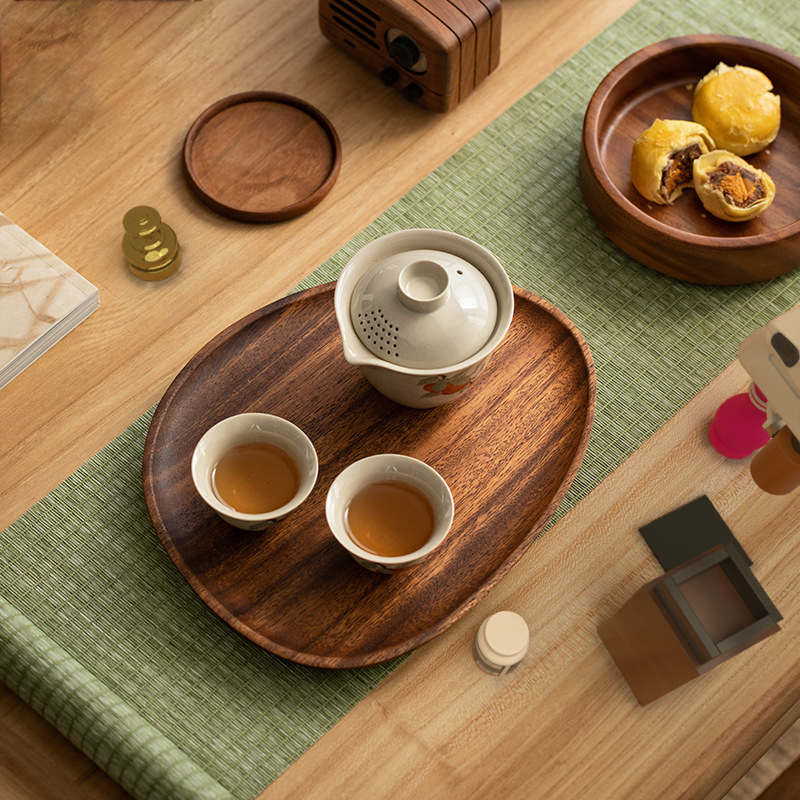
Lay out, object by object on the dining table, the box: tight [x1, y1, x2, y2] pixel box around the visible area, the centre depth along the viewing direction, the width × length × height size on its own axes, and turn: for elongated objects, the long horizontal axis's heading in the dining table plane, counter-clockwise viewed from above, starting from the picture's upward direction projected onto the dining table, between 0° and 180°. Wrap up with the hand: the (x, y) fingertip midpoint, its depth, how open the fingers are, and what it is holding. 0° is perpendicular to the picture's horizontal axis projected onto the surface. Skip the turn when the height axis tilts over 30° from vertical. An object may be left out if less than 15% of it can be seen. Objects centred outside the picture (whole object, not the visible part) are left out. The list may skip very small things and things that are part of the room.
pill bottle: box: [471, 610, 531, 677], centre depth 101 cm, size 6×6×10 cm
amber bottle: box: [749, 425, 800, 496], centre depth 87 cm, size 5×5×9 cm
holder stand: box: [596, 543, 785, 708], centre depth 96 cm, size 10×10×23 cm
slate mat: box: [638, 494, 754, 573], centre depth 112 cm, size 10×10×1 cm
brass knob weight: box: [121, 204, 182, 282], centre depth 124 cm, size 7×7×10 cm
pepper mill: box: [708, 380, 772, 460], centre depth 110 cm, size 7×7×20 cm
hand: (791, 455), depth 87 cm, fingers closed on amber bottle, 5 cm apart
